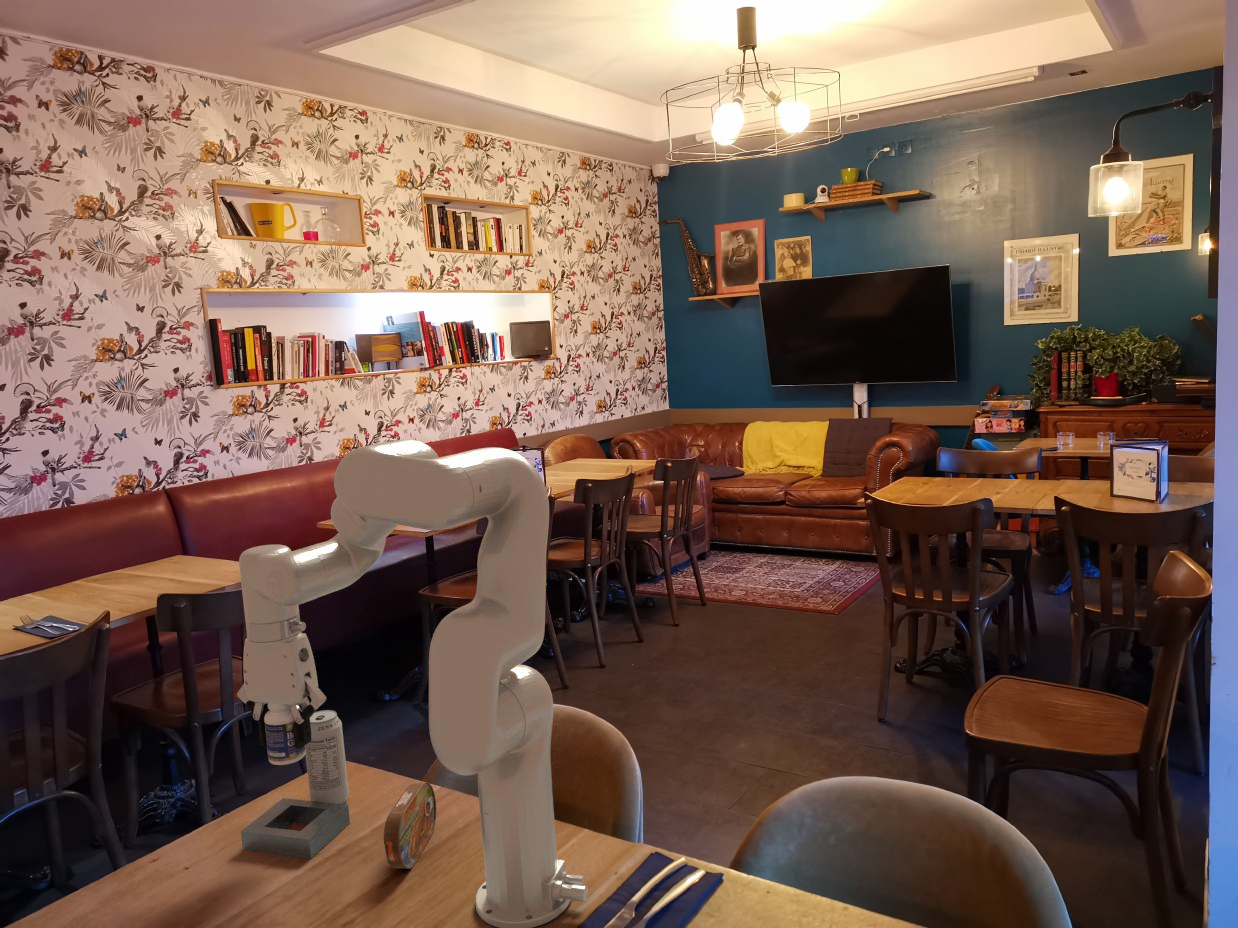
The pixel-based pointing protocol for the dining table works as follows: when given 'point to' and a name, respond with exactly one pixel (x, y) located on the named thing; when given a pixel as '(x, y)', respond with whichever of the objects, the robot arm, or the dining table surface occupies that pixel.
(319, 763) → the energy drink can
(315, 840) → the socket block
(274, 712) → the pill bottle
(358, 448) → the robot arm
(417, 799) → the tin
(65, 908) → the dining table surface
